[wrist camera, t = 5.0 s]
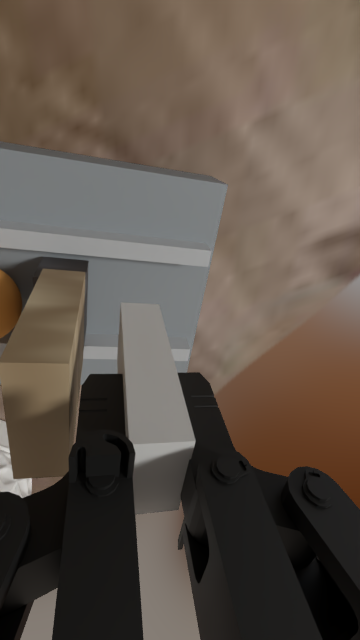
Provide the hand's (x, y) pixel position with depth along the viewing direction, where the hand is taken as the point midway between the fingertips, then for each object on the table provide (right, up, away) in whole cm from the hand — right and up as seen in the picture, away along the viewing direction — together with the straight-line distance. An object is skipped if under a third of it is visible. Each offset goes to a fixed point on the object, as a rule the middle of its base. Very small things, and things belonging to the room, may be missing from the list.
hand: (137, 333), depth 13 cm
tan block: (-4, +2, +3) cm, 5 cm away
